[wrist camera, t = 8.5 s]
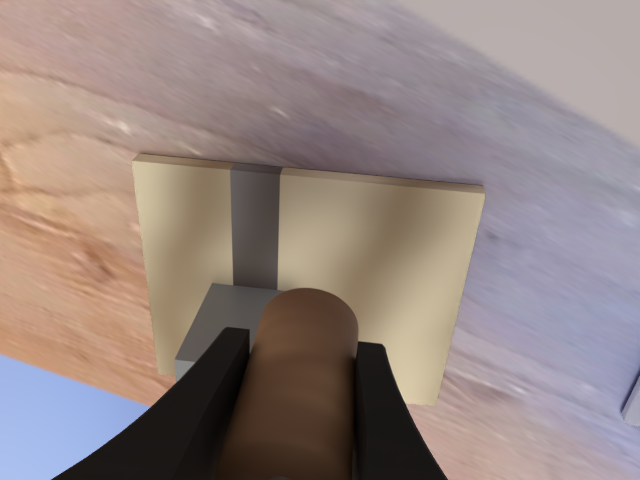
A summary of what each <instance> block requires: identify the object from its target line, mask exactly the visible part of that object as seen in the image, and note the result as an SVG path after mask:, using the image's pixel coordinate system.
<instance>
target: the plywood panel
mask: <svg viewBox="0 0 640 480" xmlns="http://www.w3.org/2000/svg"><path fill="white" fill-rule="evenodd" d="M132 169H133V177H134V185H135V193H136V201H137V209H138V217H139V225H140V233H141V241H142V249H143V257H144V264H145V272H146V280H147V288H148V296H149V304H150V312H151V320H152V328H153V336H154V344H155V352H156V360H157V368H158V374H162V375H171V376H176V372H175V362H174V359H175V357H176V355H177V353H178V351H179V349H180V347H181V345H182V343H183V341H184V339H185V337H186V335H187V333H188V331H189V329H190V327H191V325H192V323H193V321H194V319H195V316H196V314H197V312H198V310H199V308H200V306H201V304H202V302H203V300H204V298H205V296H206V294H207V292H208V290H209V288H210V286H211V284H212V283H216V284H225V285H235V286H244V287H253V288H263V289H272V290H282V291H288V290H291V289H296V288H315V289H320V290H324V291H327V292H329V293H332V294H334V295H336V296H337V297H339V298H340V299H342V300H343V301H344V302H345V303H346V304H347V305H348V306H349V307H350V308H351V309H352V311H353V312H354V314H355V316H356V318H357V322H358V329H359V332H358V341H362V342H371V343H380V344H383V346H384V347H385V348H386V353H387V356H388V360H389V363H390V366H391V369H392V372H393V375H394V378H395V380H396V383H397V386H398V388H399V391H400V393H401V395H402V397H403V400H404V402H405V403H411V404H419V405H428V406H436V403H437V399H438V395H439V390H440V386H441V382H442V378H443V373H444V369H445V365H446V361H447V356H448V352H449V348H450V344H451V340H452V335H453V331H454V327H455V323H456V318H457V314H458V310H459V306H460V302H461V297H462V293H463V289H464V285H465V280H466V276H467V272H468V268H469V264H470V259H471V255H472V251H473V247H474V242H475V238H476V234H477V230H478V226H479V221H480V217H481V213H482V209H483V204H484V200H485V196H486V193H485V191H484V188H483V186H480V185H469V184H458V183H447V182H437V181H426V180H415V179H404V178H394V177H383V176H372V175H362V174H351V173H340V172H329V171H319V170H308V169H297V168H286V167H276V166H265V165H254V164H243V163H233V162H222V161H211V160H200V159H190V158H179V157H168V156H157V155H147V154H139V155H137V156H136V157H135V158H134V159H133V160H132Z"/></svg>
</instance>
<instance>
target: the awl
mask: <svg viewBox="0 0 640 480" xmlns="http://www.w3.org/2000/svg"><path fill="white" fill-rule="evenodd" d="M358 332H359V329H358V322H357V318H356V316H355V314H354V312H353V311H352V309H351V308H350V307H349V306H348V305H347V304H346V303H345V302H344V301H343V300H342V299H340V298H339V297H337V296H336V295H334V294H332V293H329V292H327V291H324V290H320V289H315V288H296V289H291V290H288V291H285V292H282V293H281V294H279V295H277V296H276V297H274V298H273V299H272V300H271V301H270V302H269V303H268V304H267V305H266V307H265V308H264V310H263V313H262V316H261V319H260V323H259V326H258V329H257V333H256V336H255V339H254V343H253V346H252V349H251V353H250V356H249V360H248V363H247V366H246V370H245V373H244V376H243V380H242V383H241V386H240V390H239V393H238V396H237V400H236V403H235V407H234V410H233V413H232V417H231V420H230V423H229V427H228V430H227V433H226V437H225V440H224V443H223V447H222V450H221V453H220V457H219V460H218V464H217V467H216V470H215V480H352V466H353V444H354V422H355V393H354V386H355V365H356V353H357V346H358Z"/></svg>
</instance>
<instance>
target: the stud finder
mask: <svg viewBox="0 0 640 480" xmlns="http://www.w3.org/2000/svg"><path fill="white" fill-rule="evenodd" d="M282 292H285V291H282V290H272V289H263V288H253V287H244V286H235V285H225V284H216V283H212V284H211V286H210V288H209V290H208V292H207V294H206V296H205V298H204V300H203V302H202V304H201V306H200V308H199V310H198V312H197V314H196V316H195V319H194V321H193V323H192V325H191V327H190V329H189V331H188V333H187V335H186V337H185V339H184V341H183V343H182V345H181V347H180V349H179V351H178V353H177V355H176V357H175V359H174V362H175V372H176V381H178V380H179V379H180V378H181V377H182V376H183V375H184V374H185V373H186V372H187V371H188V370H189V369H190V368H191V367H192V365H193V364H194V363H195V362H196V361H197V360H198V359H199V358H200V357H201V355H202V354H203V353H204V352H205V351H206V350H207V348H208V347H209V346H210V345H211V344H212V342H213V341H214V340H215V339H216V337H217V336H218V335H219V334H220V332H221V331H222V330H223V329H224V328H226V327H234V328H243V329H250V353H251V349H252V346H253V343H254V339H255V336H256V333H257V329H258V326H259V323H260V319H261V316H262V313H263V310H264V308H265V307H266V305H267V304H268V303H269V302H270V301H271V300H272V299H273V298H274V297H276V296H277V295H279V294H281V293H282Z"/></svg>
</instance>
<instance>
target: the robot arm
mask: <svg viewBox="0 0 640 480" xmlns="http://www.w3.org/2000/svg"><path fill="white" fill-rule="evenodd" d="M249 356H250V329H243V328H234V327H226V328H224V329H223V330H222V331H221V332H220V334H219V335H218V336H217V337H216V339H215V340H214V341H213V342H212V344H211V345H210V346H209V347H208V348H207V350H206V351H205V352H204V353H203V354H202V355H201V357H200V358H199V359H198V360H197V361H196V362H195V363H194V364H193V365H192V367H191V368H190V369H189V370H188V371H187V372H186V373H185V374H184V375H183V376H182V377H181V378H180V379H179V380H178V381H177V383H176V384H175V385H174V386H172V387H171V388H170V389H169V390H168V391H167V392H166V393H165V394H164V395H163V396H162V397H161V398H160V399H159V400H158V401H157V402H156V403H155V404H154V405H153V406H152V407H150V408H149V409H148V410H147V411H146V412H145V413H144V414H142V415H141V416H140V417H139V418H138V419H137V420H135V421H134V422H133V423H132V424H131V425H129V426H128V427H127V428H126V429H124V430H123V431H122V432H121V433H119V434H118V435H116V436H115V437H114V438H113V439H111V440H110V441H108V442H107V443H106V444H104V445H103V446H102V447H100V448H99V449H98V450H96V451H95V452H93V453H92V454H91V455H89V456H88V457H86V458H85V459H83V460H81V461H80V462H78V463H77V464H75V465H74V466H72V467H70V468H69V469H67V470H66V471H64V472H63V473H61V474H59V475H58V476H56V477H54V478H53V479H52V480H215V470H216V467H217V464H218V460H219V457H220V453H221V450H222V447H223V443H224V440H225V437H226V433H227V430H228V427H229V423H230V420H231V417H232V413H233V410H234V407H235V403H236V400H237V396H238V393H239V390H240V386H241V383H242V380H243V376H244V373H245V370H246V366H247V363H248V360H249ZM354 393H355V422H354V444H353V466H352V480H448V479H447V477H446V476H445V474H444V473H443V471H442V470H441V468H440V467H439V465H438V464H437V462H436V460H435V459H434V457H433V456H432V454H431V452H430V450H429V449H428V447H427V445H426V444H425V442H424V440H423V438H422V436H421V434H420V433H419V431H418V429H417V427H416V425H415V423H414V421H413V419H412V417H411V415H410V413H409V411H408V409H407V406H406V404H405V402H404V400H403V397H402V395H401V393H400V391H399V388H398V386H397V383H396V380H395V378H394V375H393V372H392V369H391V366H390V363H389V360H388V356H387V353H386V348H385V347H384V346H383V344H380V343H371V342H362V341H358V346H357V353H356V365H355V386H354ZM622 417H623V419H624V421H625V423H626V424H628V425H632V426H640V376H639V379H638V381H637V383H636V385H635V387H634V389H633V391H632V393H631V395H630V397H629V399H628V401H627V403H626V405H625V407H624V409H623V411H622Z"/></svg>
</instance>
